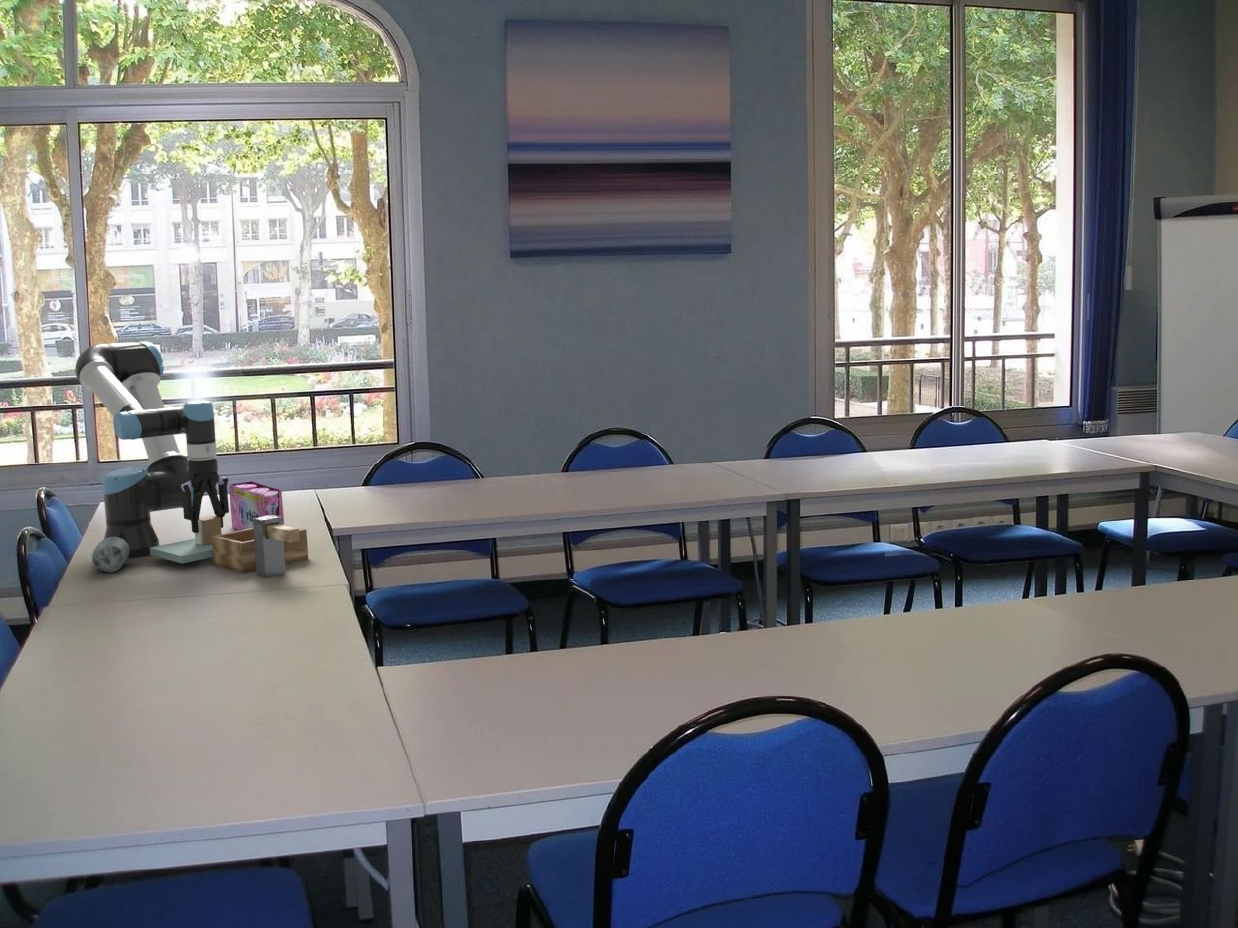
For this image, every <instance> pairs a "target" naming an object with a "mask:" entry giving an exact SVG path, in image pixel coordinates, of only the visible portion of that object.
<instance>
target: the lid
mask: <svg viewBox="0 0 1238 928" xmlns="http://www.w3.org/2000/svg"><path fill="white" fill-rule="evenodd" d="M199 521H202V533H203V545H199V544H196V542H195V538H191V539H188V540H187V539H186V540H183V541H181V540H180V541H176V542H172V543H166V544H161V545H160V546H156V547H151V548H150V554H149V555H150V556H153V557H156V558H160V559H164V560H167V561H172V562H175V563H179V564H185V563H186V564H187V563H191V562H195V561H199V560H205V559H208V558H213V546H212V536H216V535H221V534H224V533H221V532H222V528H221V519H220V517H216V515H211V514H210V515H204V516H199Z"/></svg>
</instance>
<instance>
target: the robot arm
mask: <svg viewBox="0 0 1238 928" xmlns="http://www.w3.org/2000/svg"><path fill="white" fill-rule="evenodd" d="M163 362H164V360H163V358H162V355H161V353H160V350H159V349H158V348H157V346H156V345H155V344H154V343H152V342H149V341H140V340H139V341H138V340H135V341H128V342H114V343H113V342H112V343H111V342H110V343H97V344H94V345H90V346H88V348H86V349H85V350H83V352H81V354H80V355H79V356H78V357H77V360H76V362H75V369H74V371H75V376H76V379H77V381H78V382H79V383H80V385H81V387H83V388H84V389H85V390H88V391H89V392H92V394H94V396H95V397H96V398H97V399H98V400H99V402H100V403H102V405H103V406H104V408H105V409H106V410H107V411H108V412H109V413H110V414H111V415H112V417H113V423H112V424H113V429H114V432H115V435H116V437H117V439H120V440H122V441H125V440H134V441H135V440H139V439H141V440H142V443H143V446H144V449H145V452H146V456H147V459H148V460H149V463H148V465H147V467H145V466H133V467H130V466H129V467H124V468H121V469H120V468H119V469H117V470H113V471H111V472H109V473H107V474H106V475H104V477H103V479H102V495H103V503H104V513H105V523H106V528H105V532H104V536H103V539H102V540H104V539H105V538H108V537H119V538H121V539H123V540H125V541H126V542H127V543H128V545H129V550H130V551H129V556H128V558H134V557H142V556H146V555H147V556H148V555H150V548H151V547H156V546H161V545H160V541H159V538H158V536H157V533H156V531H155V529H154V527H153V525H152V520H151V513H153V512H160V511H166V510H174V509H179V508H180V509H182V510H183V511H182V512H183V518H184V520H186V521H187V520H188V521H190V523H191V532H192V533H194V539H195V542H196V544H199V545H203V533H202V521H199V517H200V513H201V508H202V502H203V497H204V495H205V493H207V495H208V497H209V500H210V503H211V507H212V510H213V513H214V516H216V517H220V519H221V529H222V528H224V517H225V516H226V514H229V512H230V502H229V494H228V493H229V491H228V485H229V484H228V483H229V478H228V477H224V476H221V477H220V475H219V473H218V471H219V466H218V464H219V463H218V458H216V457H217V456H218V455H217V453H218V452H217V443H216V441H217V440H216V429H215V428H216V427H215V412H214V405H213V403H212V402H211V401H210V400H190V401H187V402H185V403H184V404H178V405H176V404H175V405H173V406H169V407H165V405H164V401H163V399H162V396H161V393H160V390H159V387H158V386H159V385H160V382H161V378H162V376H163V375H164V371H165V369H164V365H163ZM182 434H183V435H184V434H185V438H186V453H187V454H186V455H187V456H186V455H183V454H182V453H180V450H179V448H178V447H179V446H178V443H177V442H176V441H177V440H176V437H175V436H176V435H182ZM216 485H218V489H217V487H216ZM221 533H222V531H221Z"/></svg>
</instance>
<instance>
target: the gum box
mask: <svg viewBox="0 0 1238 928" xmlns="http://www.w3.org/2000/svg"><path fill="white" fill-rule="evenodd" d="M228 493H229V494H228V496H229V508H230V514H231V515H230V516H231V528H233V529H235V530H236V531H240V530H245V529H250V528H253V519H254V518H259V517H264V516H269V515H276V516H281V517H282V525H285V518H284V517H285V516H284V501H283V492H282V490H281V489H279V488H276V487H272V486H268V485H265V484H263V483H259V482H256V481H253V480H251V481H250V480H249V481H245V482H243V481H242V482H235V483H231V484H228Z"/></svg>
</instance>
